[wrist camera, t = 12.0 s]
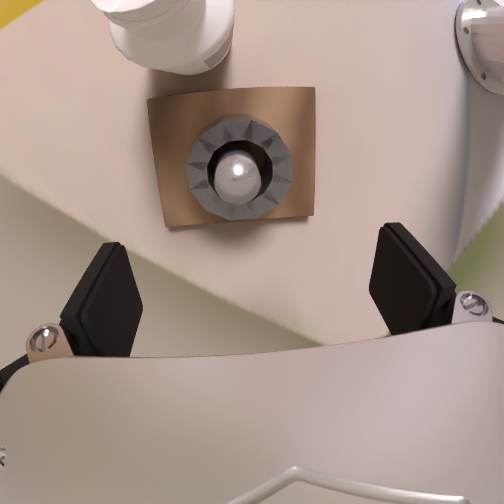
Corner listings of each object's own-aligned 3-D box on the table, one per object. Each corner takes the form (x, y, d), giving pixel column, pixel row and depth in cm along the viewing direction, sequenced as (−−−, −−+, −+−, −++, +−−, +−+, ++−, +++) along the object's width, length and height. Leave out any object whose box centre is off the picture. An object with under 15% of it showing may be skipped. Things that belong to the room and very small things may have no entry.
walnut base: (310, 87, 24) (315, 87, 23) (309, 209, 30) (313, 215, 29) (150, 98, 23) (146, 99, 22) (168, 220, 30) (165, 227, 28)
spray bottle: (246, 51, 22) (281, -8, 7) (177, 89, 23) (91, 103, 8) (208, -8, 19) (182, -124, 3) (139, 32, 20) (18, -20, 5)
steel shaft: (251, 139, 25) (259, 158, 19) (253, 172, 26) (261, 202, 20) (216, 142, 25) (212, 162, 19) (219, 175, 26) (216, 206, 20)
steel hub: (279, 111, 24) (291, 118, 19) (281, 193, 28) (292, 216, 23) (190, 118, 23) (181, 125, 19) (199, 199, 27) (193, 223, 23)
